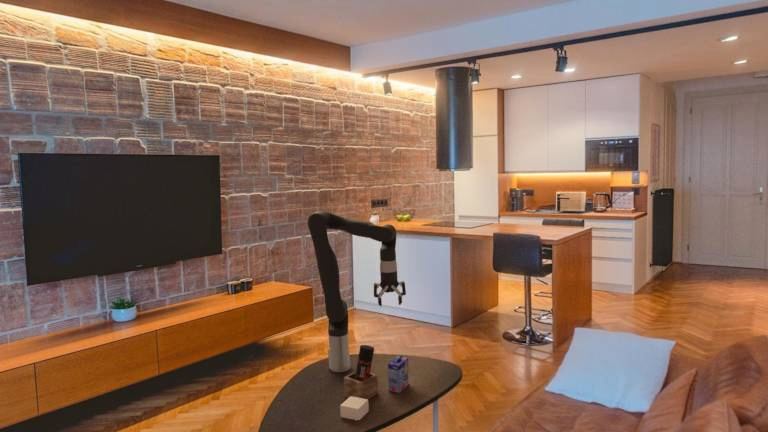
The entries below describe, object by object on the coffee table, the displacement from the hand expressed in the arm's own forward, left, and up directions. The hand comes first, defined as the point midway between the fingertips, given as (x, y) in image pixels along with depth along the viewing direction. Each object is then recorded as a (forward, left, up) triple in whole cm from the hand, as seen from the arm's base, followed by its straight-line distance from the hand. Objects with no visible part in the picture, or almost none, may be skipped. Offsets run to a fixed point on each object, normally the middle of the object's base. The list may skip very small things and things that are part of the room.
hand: (390, 305), depth 238 cm
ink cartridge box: (+11, -10, -32) cm, 36 cm away
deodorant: (+2, -24, -27) cm, 36 cm away
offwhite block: (+10, -37, -32) cm, 51 cm away
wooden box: (+2, -24, -32) cm, 40 cm away
